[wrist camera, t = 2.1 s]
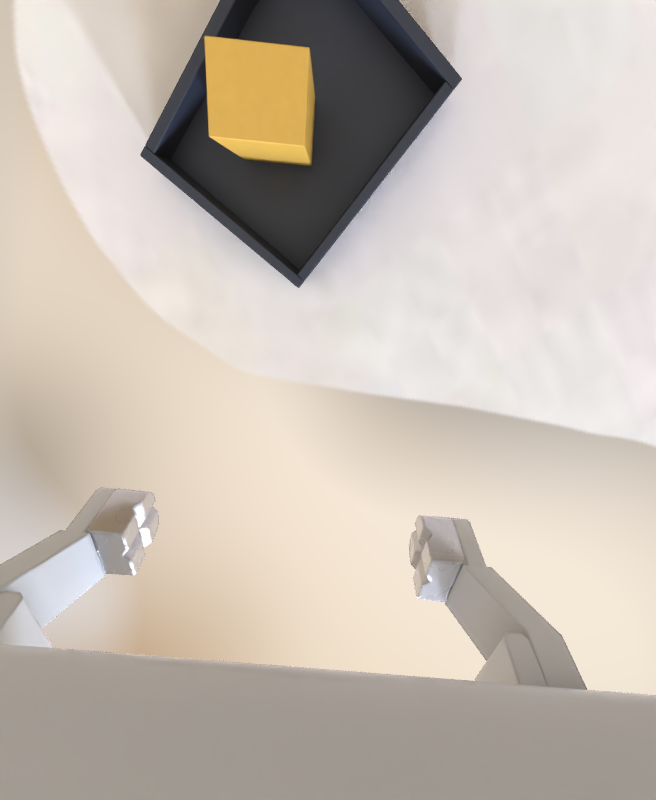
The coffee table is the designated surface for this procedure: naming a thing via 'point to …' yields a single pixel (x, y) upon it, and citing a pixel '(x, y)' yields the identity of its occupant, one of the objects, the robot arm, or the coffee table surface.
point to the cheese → (261, 99)
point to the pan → (333, 123)
